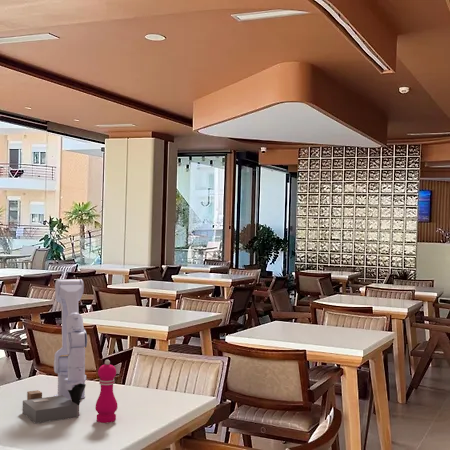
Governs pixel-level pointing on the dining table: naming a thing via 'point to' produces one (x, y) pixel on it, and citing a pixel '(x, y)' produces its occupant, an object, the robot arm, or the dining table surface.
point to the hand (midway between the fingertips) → (75, 405)
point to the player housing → (49, 409)
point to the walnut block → (34, 395)
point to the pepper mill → (106, 394)
